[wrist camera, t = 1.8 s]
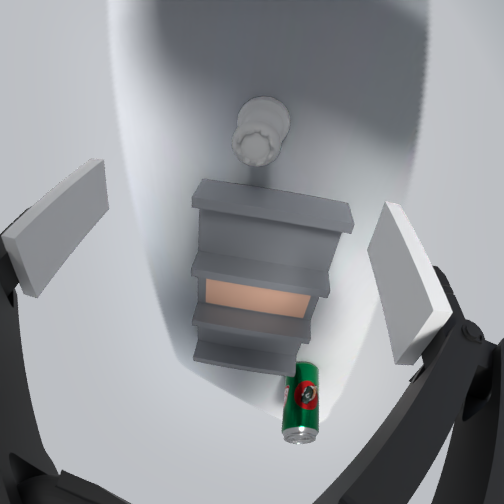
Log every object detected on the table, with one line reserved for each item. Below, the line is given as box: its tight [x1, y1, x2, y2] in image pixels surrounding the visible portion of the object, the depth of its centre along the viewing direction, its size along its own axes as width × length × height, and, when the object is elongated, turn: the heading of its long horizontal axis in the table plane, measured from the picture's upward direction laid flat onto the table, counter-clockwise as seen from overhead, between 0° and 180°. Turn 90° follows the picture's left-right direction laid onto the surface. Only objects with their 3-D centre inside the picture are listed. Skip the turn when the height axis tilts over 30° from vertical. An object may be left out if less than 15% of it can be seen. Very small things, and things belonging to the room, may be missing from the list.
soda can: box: [282, 362, 319, 444], centre depth 42 cm, size 5×5×12 cm
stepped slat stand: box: [191, 179, 354, 377], centre depth 36 cm, size 25×14×4 cm, turn 173°
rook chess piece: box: [231, 96, 291, 167], centre depth 22 cm, size 4×4×8 cm
